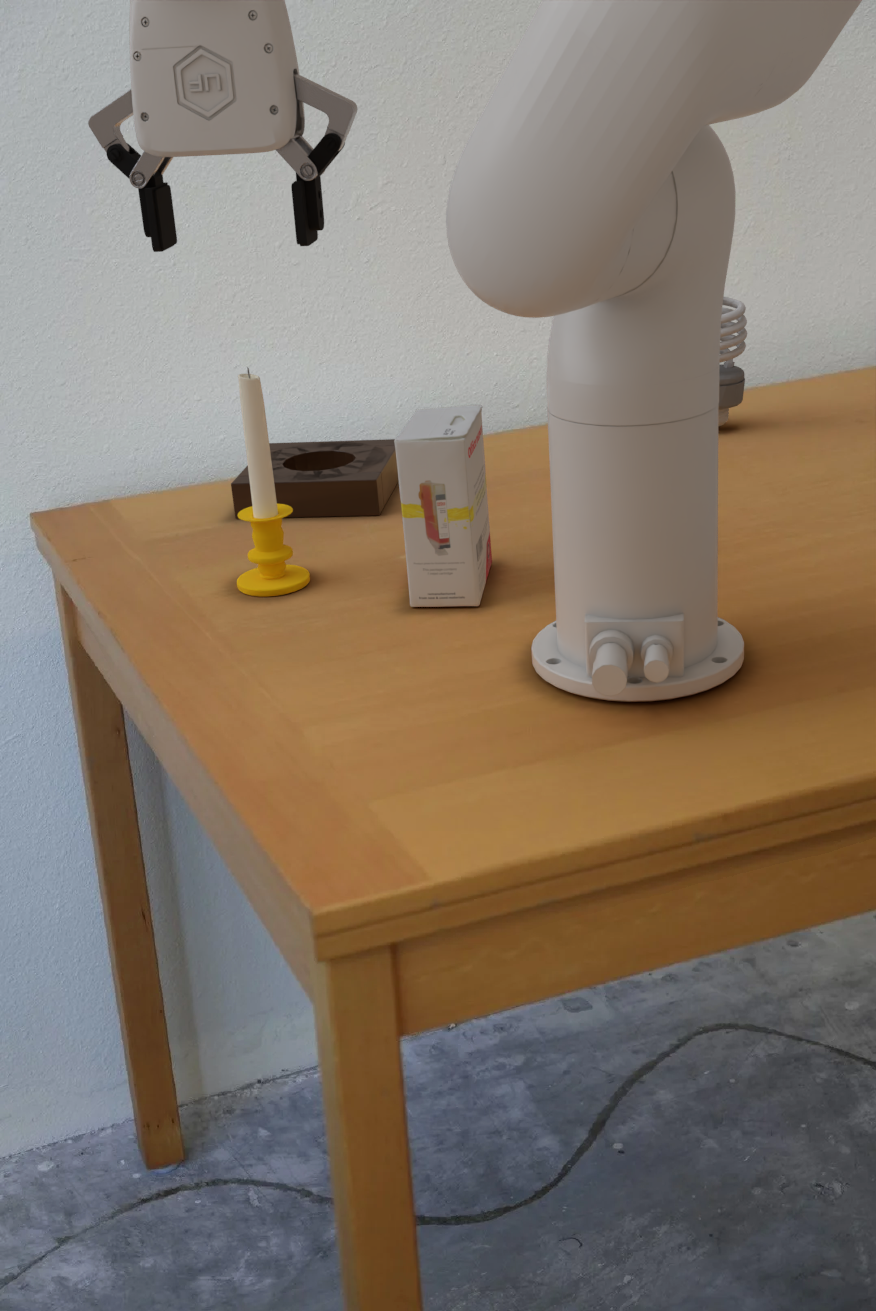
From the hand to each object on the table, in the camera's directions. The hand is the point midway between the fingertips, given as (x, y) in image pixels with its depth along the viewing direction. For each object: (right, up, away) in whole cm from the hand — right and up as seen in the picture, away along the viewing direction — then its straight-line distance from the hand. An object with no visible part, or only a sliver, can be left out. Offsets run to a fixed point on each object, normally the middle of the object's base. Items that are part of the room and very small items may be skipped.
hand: (236, 245), depth 97 cm
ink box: (+14, -22, +6) cm, 27 cm away
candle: (+2, -22, +9) cm, 24 cm away
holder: (+4, -13, +28) cm, 31 cm away
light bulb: (+39, -6, +38) cm, 55 cm away
